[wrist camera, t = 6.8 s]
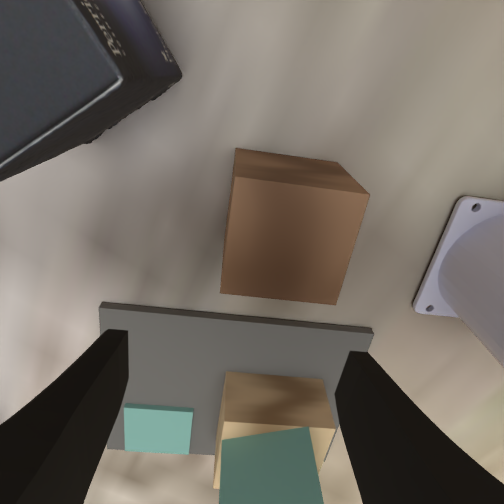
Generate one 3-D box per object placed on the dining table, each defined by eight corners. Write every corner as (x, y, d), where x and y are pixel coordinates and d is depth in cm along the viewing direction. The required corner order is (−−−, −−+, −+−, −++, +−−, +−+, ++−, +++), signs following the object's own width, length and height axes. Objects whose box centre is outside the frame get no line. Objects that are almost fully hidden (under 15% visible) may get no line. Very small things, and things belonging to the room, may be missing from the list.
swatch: (193, 407, 27) (193, 412, 26) (189, 449, 29) (188, 454, 29) (125, 403, 26) (123, 407, 26) (126, 446, 29) (124, 450, 28)
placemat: (371, 328, 25) (374, 334, 24) (323, 454, 31) (324, 461, 30) (101, 302, 23) (98, 307, 22) (109, 441, 29) (107, 448, 29)
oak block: (322, 379, 26) (335, 428, 22) (302, 441, 29) (311, 493, 25) (226, 371, 25) (224, 421, 22) (216, 435, 28) (213, 488, 25)
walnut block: (336, 162, 19) (370, 194, 14) (314, 251, 22) (335, 305, 17) (235, 147, 19) (235, 176, 14) (224, 241, 21) (219, 293, 16)
